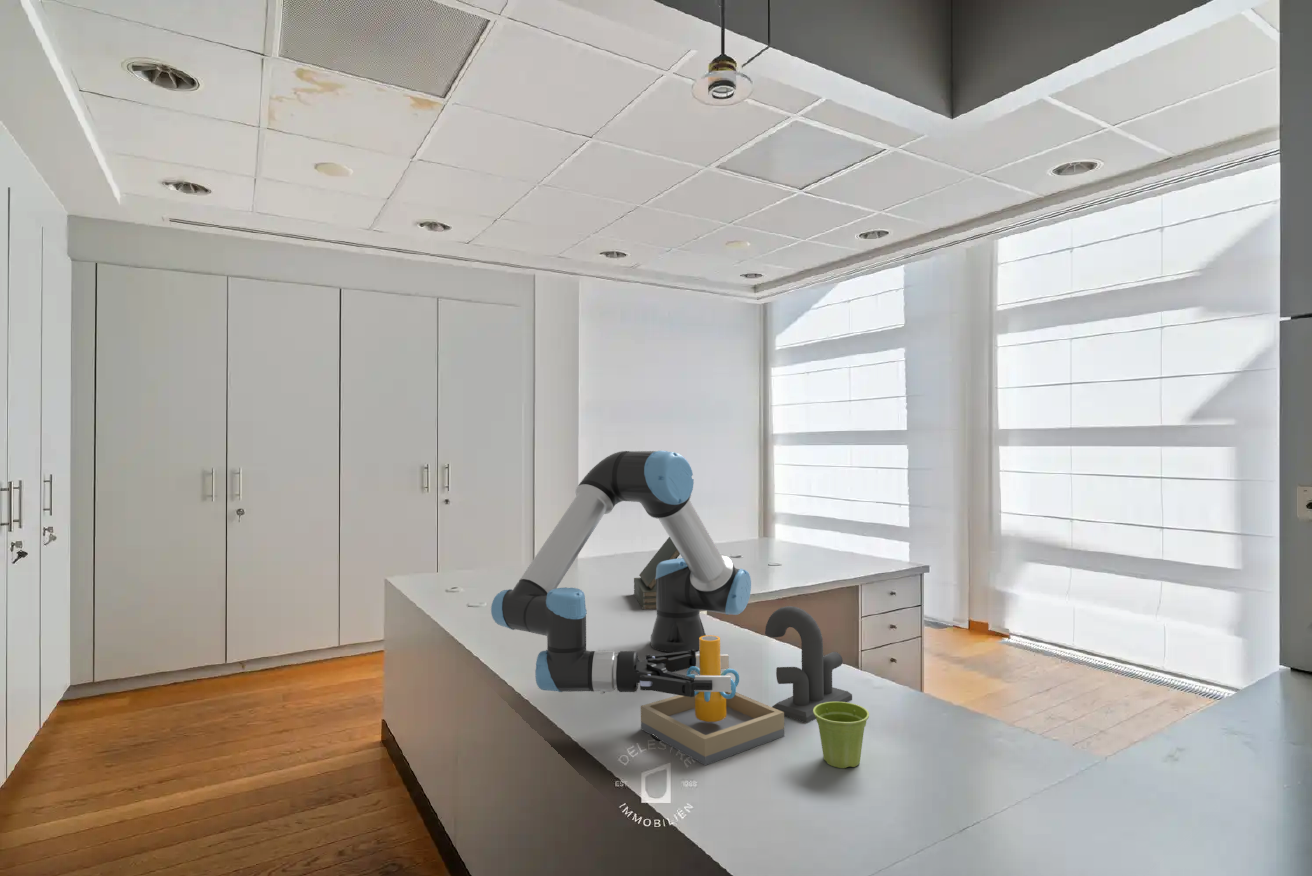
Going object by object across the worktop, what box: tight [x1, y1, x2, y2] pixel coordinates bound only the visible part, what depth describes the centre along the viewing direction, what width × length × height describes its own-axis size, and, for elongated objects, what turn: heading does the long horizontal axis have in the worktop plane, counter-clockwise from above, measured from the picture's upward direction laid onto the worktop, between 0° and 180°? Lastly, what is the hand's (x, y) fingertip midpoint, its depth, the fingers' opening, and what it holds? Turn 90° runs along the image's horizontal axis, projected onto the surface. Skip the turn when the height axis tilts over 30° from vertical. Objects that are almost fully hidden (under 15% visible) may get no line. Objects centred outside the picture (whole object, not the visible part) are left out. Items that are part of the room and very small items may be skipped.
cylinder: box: [686, 634, 740, 722], centre depth 138 cm, size 12×10×15 cm
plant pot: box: [813, 701, 870, 769], centre depth 125 cm, size 9×9×9 cm
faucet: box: [764, 605, 853, 724], centre depth 154 cm, size 18×16×20 cm
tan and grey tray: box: [640, 690, 785, 766], centre depth 138 cm, size 19×19×4 cm
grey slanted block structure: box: [633, 537, 681, 611], centre depth 247 cm, size 23×20×25 cm
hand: (729, 672), depth 138 cm, fingers closed on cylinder, 12 cm apart
